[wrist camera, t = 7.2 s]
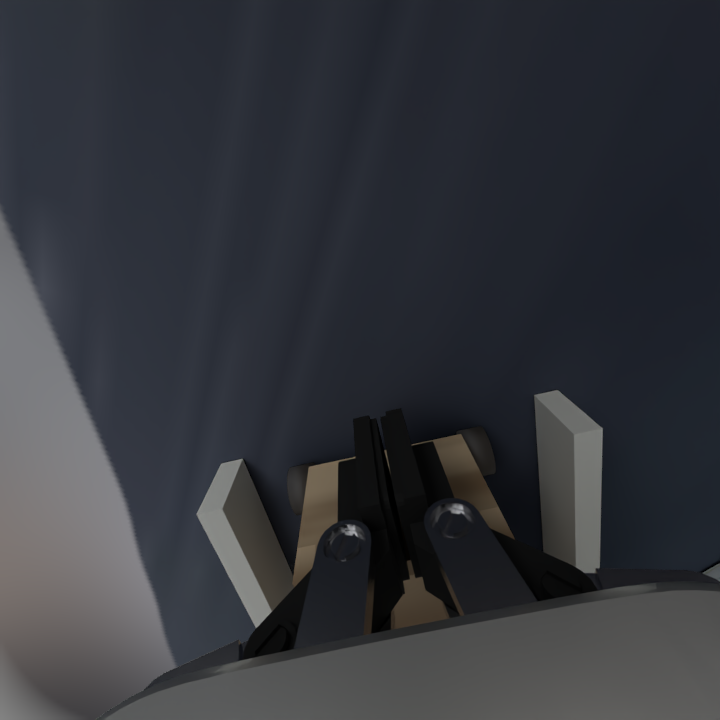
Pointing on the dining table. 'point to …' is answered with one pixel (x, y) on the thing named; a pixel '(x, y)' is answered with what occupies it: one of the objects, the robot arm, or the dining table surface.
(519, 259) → the dining table surface
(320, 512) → the cart
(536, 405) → the bay
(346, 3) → the dining table surface
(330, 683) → the robot arm
